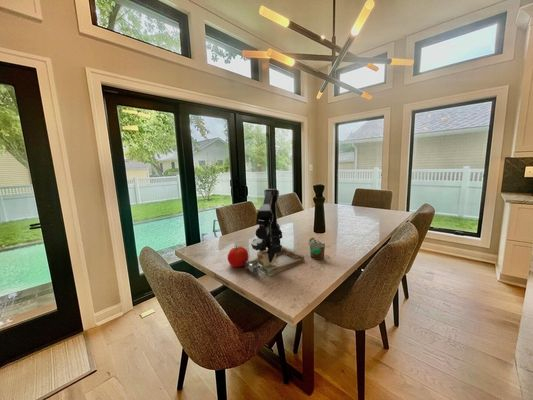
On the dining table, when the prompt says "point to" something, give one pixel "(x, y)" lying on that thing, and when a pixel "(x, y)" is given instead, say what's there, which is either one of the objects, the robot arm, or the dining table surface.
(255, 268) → the winch
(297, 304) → the dining table surface
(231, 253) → the tomato
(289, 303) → the dining table surface
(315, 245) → the food container
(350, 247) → the dining table surface
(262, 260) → the box
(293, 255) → the bay
